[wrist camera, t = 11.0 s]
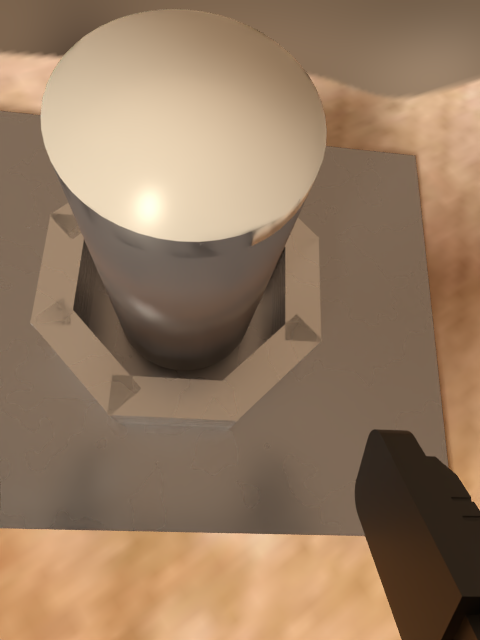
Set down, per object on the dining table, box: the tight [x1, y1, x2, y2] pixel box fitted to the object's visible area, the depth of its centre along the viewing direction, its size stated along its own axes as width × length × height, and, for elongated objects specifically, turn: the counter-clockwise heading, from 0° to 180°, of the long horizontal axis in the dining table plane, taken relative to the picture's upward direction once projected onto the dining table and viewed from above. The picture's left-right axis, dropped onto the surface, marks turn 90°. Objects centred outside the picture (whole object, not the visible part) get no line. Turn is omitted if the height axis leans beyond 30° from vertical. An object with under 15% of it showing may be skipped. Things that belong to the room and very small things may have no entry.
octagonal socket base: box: [0, 111, 448, 536], centre depth 17 cm, size 20×16×4 cm
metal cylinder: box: [41, 9, 327, 370], centre depth 13 cm, size 5×5×10 cm
